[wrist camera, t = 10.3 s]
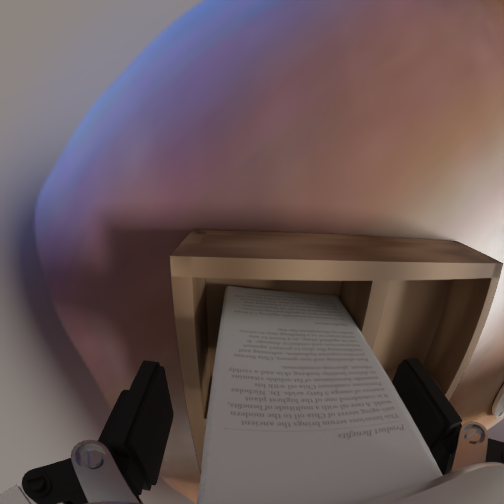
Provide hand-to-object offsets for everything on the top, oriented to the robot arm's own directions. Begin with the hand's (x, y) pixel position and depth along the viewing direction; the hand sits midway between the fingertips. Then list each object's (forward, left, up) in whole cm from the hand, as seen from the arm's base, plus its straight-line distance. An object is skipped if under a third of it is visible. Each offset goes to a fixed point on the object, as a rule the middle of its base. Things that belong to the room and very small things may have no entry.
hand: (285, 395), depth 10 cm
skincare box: (0, 0, -6) cm, 6 cm away
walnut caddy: (-4, +4, -6) cm, 9 cm away
